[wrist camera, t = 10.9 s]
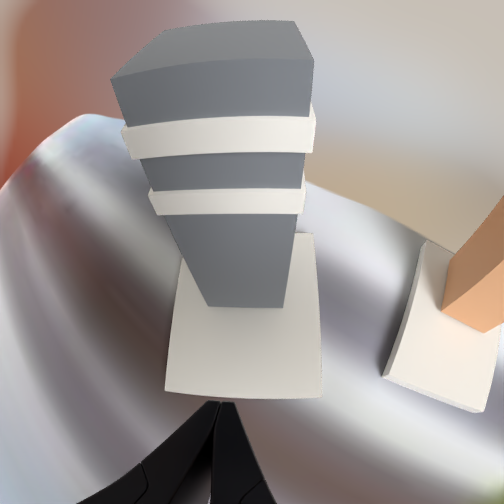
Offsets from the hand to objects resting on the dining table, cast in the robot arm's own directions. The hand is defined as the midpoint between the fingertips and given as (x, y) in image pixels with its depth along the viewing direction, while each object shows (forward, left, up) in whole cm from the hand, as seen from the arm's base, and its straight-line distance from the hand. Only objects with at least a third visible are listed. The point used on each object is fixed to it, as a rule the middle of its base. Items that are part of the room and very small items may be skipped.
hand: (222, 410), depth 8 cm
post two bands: (+6, +5, -7) cm, 11 cm away
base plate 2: (+13, -9, -8) cm, 18 cm away
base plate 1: (+5, +4, -8) cm, 10 cm away
